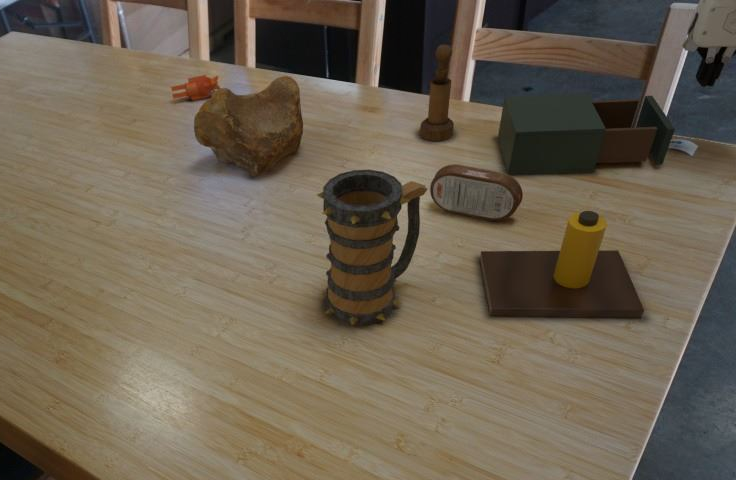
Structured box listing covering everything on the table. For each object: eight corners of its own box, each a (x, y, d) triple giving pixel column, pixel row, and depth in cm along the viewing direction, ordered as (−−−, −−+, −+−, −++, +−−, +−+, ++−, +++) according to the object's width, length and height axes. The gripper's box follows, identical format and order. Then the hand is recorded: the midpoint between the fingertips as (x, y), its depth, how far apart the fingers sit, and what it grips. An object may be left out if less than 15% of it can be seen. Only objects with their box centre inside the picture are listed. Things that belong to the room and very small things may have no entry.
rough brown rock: (222, 199, 132) (218, 130, 121) (191, 158, 143) (184, 92, 132) (326, 167, 138) (330, 98, 127) (289, 131, 148) (290, 64, 137)
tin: (518, 218, 114) (527, 174, 109) (513, 227, 113) (522, 183, 107) (432, 201, 121) (436, 158, 116) (426, 209, 120) (430, 167, 114)
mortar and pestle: (431, 124, 142) (439, 36, 130) (458, 131, 139) (469, 42, 126) (413, 136, 139) (419, 48, 127) (440, 144, 136) (450, 54, 123)
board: (615, 258, 104) (618, 250, 103) (641, 318, 94) (644, 309, 93) (479, 258, 108) (480, 251, 107) (490, 316, 98) (491, 308, 97)
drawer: (648, 129, 128) (659, 94, 124) (670, 164, 119) (683, 128, 114) (565, 132, 131) (573, 99, 127) (580, 167, 122) (589, 132, 117)
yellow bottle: (585, 268, 101) (604, 205, 93) (592, 288, 97) (612, 225, 90) (550, 268, 102) (566, 206, 94) (556, 288, 98) (574, 225, 91)
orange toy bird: (170, 82, 162) (219, 72, 162) (168, 81, 168) (215, 72, 169) (175, 104, 164) (222, 94, 164) (172, 102, 170) (218, 92, 171)
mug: (302, 296, 106) (296, 185, 93) (391, 258, 111) (398, 146, 97) (348, 342, 97) (349, 227, 84) (443, 299, 102) (459, 183, 88)
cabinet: (576, 135, 132) (586, 92, 126) (593, 172, 121) (605, 128, 116) (497, 138, 135) (504, 96, 129) (507, 175, 124) (515, 131, 119)
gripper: (704, -23, 101) (663, 94, 114) (818, -30, 99) (762, 91, 111) (688, -38, 107) (650, 76, 119) (795, -46, 104) (745, 72, 116)
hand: (704, 83), depth 115 cm, fingers closed
